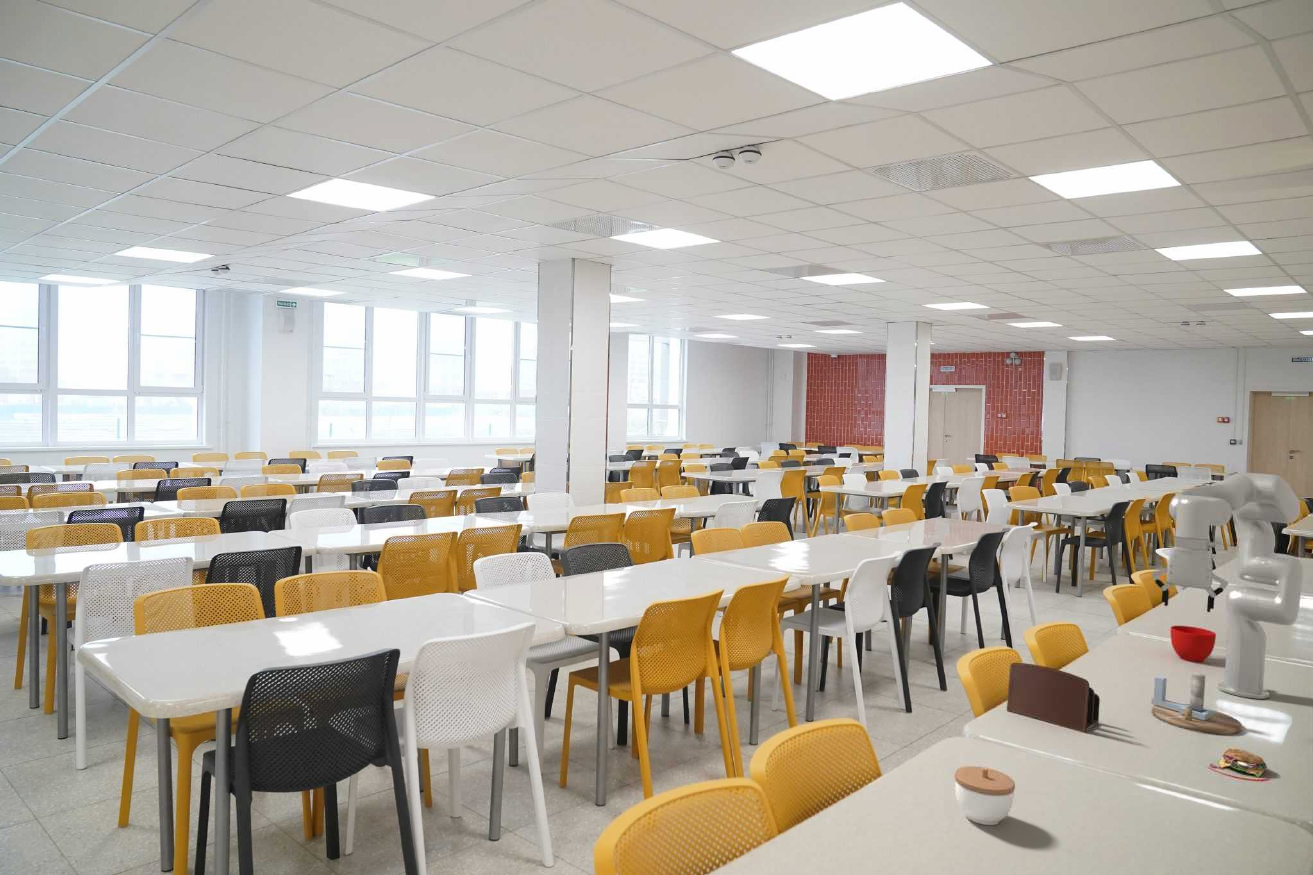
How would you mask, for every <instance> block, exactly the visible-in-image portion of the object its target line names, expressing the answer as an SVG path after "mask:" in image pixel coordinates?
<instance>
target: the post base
mask: <svg viewBox="0 0 1313 875" xmlns="http://www.w3.org/2000/svg"><path fill="white" fill-rule="evenodd" d="M1205 686H1206V675H1205V674H1202V673H1198V672H1193V673H1191V684H1190V699H1189V704H1190V708H1185V715H1183V714H1179V711H1175V710H1172V709H1168V708H1164V707H1161V706H1157V705H1154V704H1153V705H1152V707H1151V713H1153V714H1152V715H1153V716H1154V717H1155V718H1156V719H1158V720H1160V721H1161V720H1162V722H1164V723H1166V722H1167V723H1166V724H1169V725H1171V726H1174V727H1177V728H1181V729H1184V730H1188V731H1191V732H1192V731H1193V732H1198V733H1203V734H1211V735H1220V736H1224V735H1225V736H1229V735H1230V736H1231V735H1238V734H1240V733H1241V732H1242V730H1243V729H1242V728H1243V724H1242V723H1241V721H1239V720H1238V719H1237V718H1235V717H1233V716H1231V715H1228V714H1226V713H1223V712H1220V711H1218V710H1214V709H1210V708H1206V707H1204V702H1205V701H1204V700H1205V688H1206V687H1205ZM1182 704H1183V705H1187V704H1185V703H1182ZM1203 708H1205V709H1209V710H1213V717H1211V718H1209V719H1207V720H1205V721H1204V720H1201V719H1197V718H1194V717H1192V710H1193V711H1197V712H1200V713H1203Z"/></svg>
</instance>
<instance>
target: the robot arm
mask: <svg viewBox="0 0 1313 875" xmlns="http://www.w3.org/2000/svg"><path fill="white" fill-rule="evenodd" d="M1168 510H1169V515H1170V516H1171V518H1172V519H1174V520H1175V533H1174V534H1175V535H1174V537H1175V538H1174V546H1172V547H1171V549H1170V552H1169V554H1168V561H1167V567H1164V568H1161V569H1158V570H1155V571H1152V572H1151V576H1152V579H1153V580H1154V582H1155V583H1154V584H1156V585H1157V586H1158V587H1159V588H1160V589H1161V591H1162V592H1161V594H1162V595H1161V602H1162V603H1164V604H1163V605H1164V607H1168V605H1169V598H1170V597H1169V596H1170V593H1169V592H1170V590H1169V589H1170V587H1171V586H1178V587H1184V588H1191V589H1201V590H1204V591H1206V592H1207V594H1208V595H1207V604H1206V605H1207V606H1206V612H1207V613H1211V610H1214V608H1215V607H1214V606H1215V598H1216V597H1217V596H1218V595H1220V594H1221V593H1223V592H1224V591H1225V589H1226V587H1227V586H1228V585H1229V581H1227V580H1226V579H1224V578H1223V577H1220V576H1219V575H1217V574H1215V573H1213V555H1212V551H1211V550H1209V549H1210V548H1215V547H1216V546H1215V544H1216V543H1215V542H1213V541H1210V540H1209V539H1210V538H1209V537H1210V536H1209V535H1210V526H1215V527H1220V526H1223V525H1226V524H1227V523H1229V522H1230V520H1231V519H1232V515H1233V518H1234V519H1235V521H1236V523H1237V526H1238V528H1239V534H1240V535H1239V545H1238V551H1237V558H1236V574H1237V576H1238V578H1240V579H1241V580H1244V581H1245V582H1251V583H1256V584H1261V585H1267V586H1273V587H1276V588H1277V587H1278V590H1279V591H1277V590H1272V589H1267V588H1262V587H1254V586H1249V585H1235V586H1233V587H1229V589H1228V590H1227V592H1226V594H1225V604H1226V605H1225V606H1226V607H1225V608H1226V613H1227V634H1226V635H1227V637H1226V651H1225V662H1224V663H1225V668H1224V678H1223V679H1224V681H1219V682H1218V684H1217V688H1218V689H1219V690H1220V691H1222V692H1224V693H1227V694H1229V695H1235V696H1237V697H1241V698H1242V697H1243V698H1247V699H1248V698H1249V699H1257V700H1259V699H1260V700H1262V699H1265V700H1266V699H1268V698H1269V697H1270V692H1269V691H1268V690H1266V689H1264V679H1265V668H1266V667H1265V666H1266V665H1265V664H1266V651H1267V648H1266V647H1267V634H1266V631H1265V630H1264V628H1263V626H1262V625H1261V623H1260V622H1263V623H1270V624H1273V625H1280V626H1286V627H1287V626H1288V627H1289V626H1292V625H1293V624H1295V623H1296V622H1297V620H1298V616H1299V613H1300V612H1299V611H1300V605H1301V604H1300V603H1301V596H1302V586H1303V579H1304V576H1303V575H1304V569H1303V564H1302V562H1301V560H1300V559H1299V558H1298V557H1296V556H1294V555H1290V554H1285V553H1276V552H1275V544H1276V543H1275V541H1276V536H1275V533H1274V531H1273V529H1272V528H1271V526H1270V525H1269V524H1268V522H1273V523H1279V524H1291V523H1294V522H1295V521H1297V519H1298V518H1299V516H1300V513H1301V504H1300V501H1299V498H1298V497H1297V495H1296V493H1295V492H1294V491H1293V489H1292V488H1291V486H1290V484H1289V483H1288V482H1287V481H1286V480H1285V479H1284V478H1283V477H1282V476H1279V475H1278V474H1277V475H1276V474H1269V473H1254V472H1238V473H1235V474H1233V475H1231V476H1229V477H1227V478H1225V479H1224V480H1222V481H1220V482H1219V483H1213V484H1207V485H1200V486H1195V487H1190V488H1186V489H1183V490H1181V491H1179V492H1178V493H1176V494H1175V495H1174V496H1173V497H1172V499H1170V503H1169V506H1168ZM1165 574H1166V582H1165V583H1164V582H1163V581H1162V580H1161V579H1160V576H1161V575H1165ZM1213 580H1214V582H1218V583H1219V584H1220V585H1219V586H1218V587H1217V588H1216V589H1213V588H1212V584H1213Z"/></svg>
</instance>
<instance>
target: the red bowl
mask: <svg viewBox="0 0 1313 875" xmlns="http://www.w3.org/2000/svg"><path fill="white" fill-rule="evenodd" d="M1216 637H1217V634H1216V632H1215V631H1212V630H1209V629H1205V628H1201V627H1196V626H1187V625H1171V627H1170V643H1171V646H1172V648H1173V651H1174V652H1175V654H1176V655H1177V656H1178V657H1179V659H1180V660H1183V661H1187V662H1191V663H1203V662H1204V661H1205V660H1207V659H1208V658H1209V657H1210V655H1211V654H1212V652H1213V651H1214V648H1215V644H1216Z"/></svg>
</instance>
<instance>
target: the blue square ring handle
mask: <svg viewBox="0 0 1313 875" xmlns="http://www.w3.org/2000/svg"><path fill="white" fill-rule="evenodd" d="M1166 694H1167V677H1165V676H1162V675H1161V676H1160V675H1157V676H1155V677H1154V691H1153V697H1152V698H1151V705H1153V706H1154V705H1157V706H1161V707H1164V708H1168V709H1172V710H1175V711H1179V714H1183V715H1185V708H1190V703H1187V704H1186V705H1183V704H1184V703H1179V702H1175V701H1171V700H1168V699H1166V697H1167V696H1166ZM1205 708H1206V707H1203V713H1200V712H1197V711H1193V710H1192V717H1194V718H1197V719H1201V720H1204V721H1205V720H1207V719H1209V718H1211V717H1213V710H1214V709H1211V710H1209V709H1210V708H1207V709H1205Z"/></svg>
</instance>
